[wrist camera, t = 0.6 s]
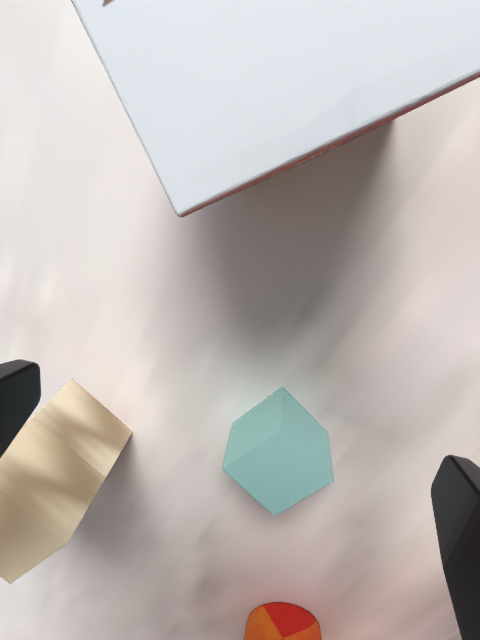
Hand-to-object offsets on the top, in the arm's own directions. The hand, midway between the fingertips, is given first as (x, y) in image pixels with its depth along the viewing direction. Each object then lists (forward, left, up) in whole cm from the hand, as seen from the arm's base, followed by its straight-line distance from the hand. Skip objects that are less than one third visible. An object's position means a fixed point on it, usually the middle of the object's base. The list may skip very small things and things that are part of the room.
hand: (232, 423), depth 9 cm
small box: (+5, -6, -13) cm, 15 cm away
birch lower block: (0, +16, -13) cm, 21 cm away
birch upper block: (0, +16, -9) cm, 18 cm away
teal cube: (-8, +6, -13) cm, 16 cm away
